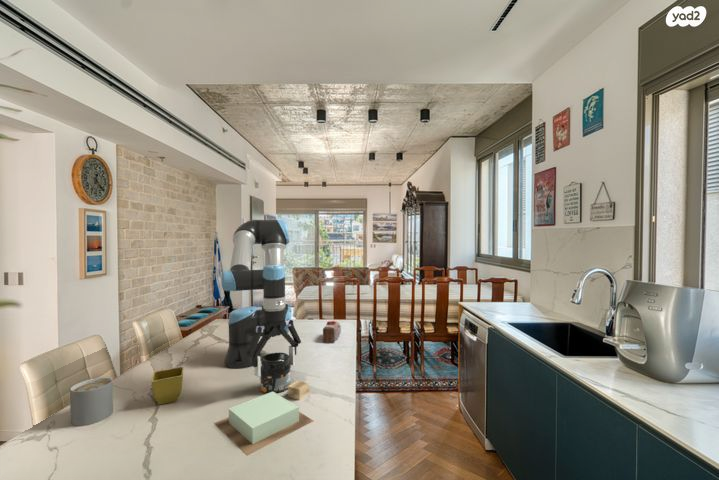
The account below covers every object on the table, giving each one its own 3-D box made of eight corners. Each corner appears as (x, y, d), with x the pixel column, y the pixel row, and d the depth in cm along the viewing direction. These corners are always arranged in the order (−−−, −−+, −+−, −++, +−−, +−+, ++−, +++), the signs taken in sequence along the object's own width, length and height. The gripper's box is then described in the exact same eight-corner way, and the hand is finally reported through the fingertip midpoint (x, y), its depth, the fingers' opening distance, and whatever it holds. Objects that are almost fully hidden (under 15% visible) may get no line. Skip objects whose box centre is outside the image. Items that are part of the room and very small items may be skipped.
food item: (327, 335, 178) (327, 317, 178) (341, 335, 177) (341, 318, 177) (321, 343, 165) (321, 324, 165) (337, 343, 164) (336, 324, 164)
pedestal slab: (228, 422, 91) (228, 408, 91) (272, 404, 101) (272, 391, 101) (252, 444, 81) (252, 428, 81) (298, 421, 91) (298, 407, 91)
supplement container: (258, 387, 116) (258, 354, 116) (288, 382, 120) (287, 350, 120) (262, 401, 106) (261, 364, 106) (293, 394, 110) (293, 359, 110)
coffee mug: (98, 425, 94) (97, 390, 94) (61, 427, 93) (60, 392, 93) (127, 402, 107) (126, 371, 107) (95, 403, 106) (94, 373, 106)
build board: (213, 428, 91) (213, 423, 91) (276, 402, 105) (276, 397, 105) (247, 461, 77) (247, 455, 77) (313, 426, 91) (313, 420, 91)
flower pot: (151, 409, 102) (151, 381, 102) (154, 397, 110) (153, 371, 110) (183, 402, 106) (182, 375, 106) (183, 391, 114) (183, 366, 114)
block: (287, 401, 106) (287, 386, 106) (297, 395, 110) (297, 380, 110) (299, 405, 103) (299, 389, 103) (309, 398, 108) (309, 383, 108)
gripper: (245, 316, 102) (246, 384, 101) (309, 305, 119) (310, 362, 119) (235, 313, 107) (236, 377, 106) (298, 302, 125) (298, 358, 124)
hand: (275, 370), depth 113 cm, fingers open, 13 cm apart
